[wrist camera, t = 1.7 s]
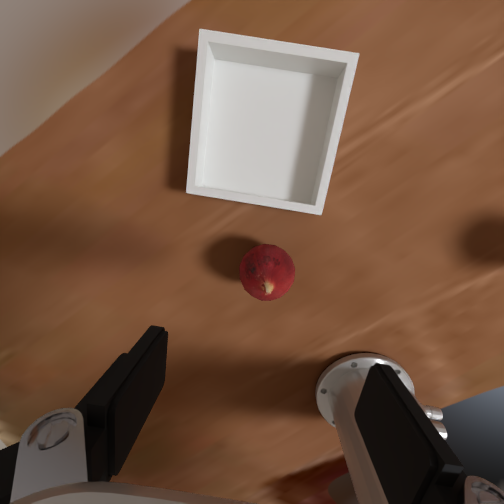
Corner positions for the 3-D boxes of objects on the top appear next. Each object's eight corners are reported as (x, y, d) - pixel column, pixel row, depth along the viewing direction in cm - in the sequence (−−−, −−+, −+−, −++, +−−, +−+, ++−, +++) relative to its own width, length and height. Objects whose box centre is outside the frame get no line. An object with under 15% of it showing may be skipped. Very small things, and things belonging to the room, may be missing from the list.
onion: (232, 259, 28) (220, 285, 20) (268, 228, 27) (269, 242, 19) (265, 293, 29) (264, 329, 21) (300, 263, 28) (314, 291, 20)
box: (345, 73, 23) (359, 53, 19) (314, 212, 26) (321, 215, 23) (209, 52, 23) (199, 28, 20) (196, 192, 26) (186, 192, 23)
